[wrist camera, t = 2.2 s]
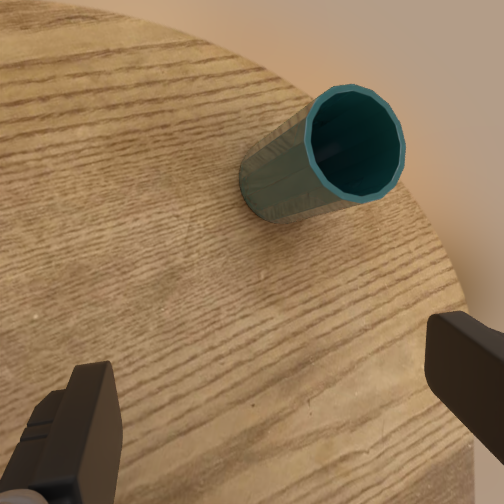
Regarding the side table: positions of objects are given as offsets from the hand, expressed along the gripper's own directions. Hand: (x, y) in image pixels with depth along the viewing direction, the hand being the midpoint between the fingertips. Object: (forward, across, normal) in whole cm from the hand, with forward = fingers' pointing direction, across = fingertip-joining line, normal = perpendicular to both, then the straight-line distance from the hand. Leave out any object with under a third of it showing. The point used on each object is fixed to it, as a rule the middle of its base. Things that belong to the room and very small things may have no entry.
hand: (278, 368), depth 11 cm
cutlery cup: (+23, -6, -1) cm, 23 cm away
